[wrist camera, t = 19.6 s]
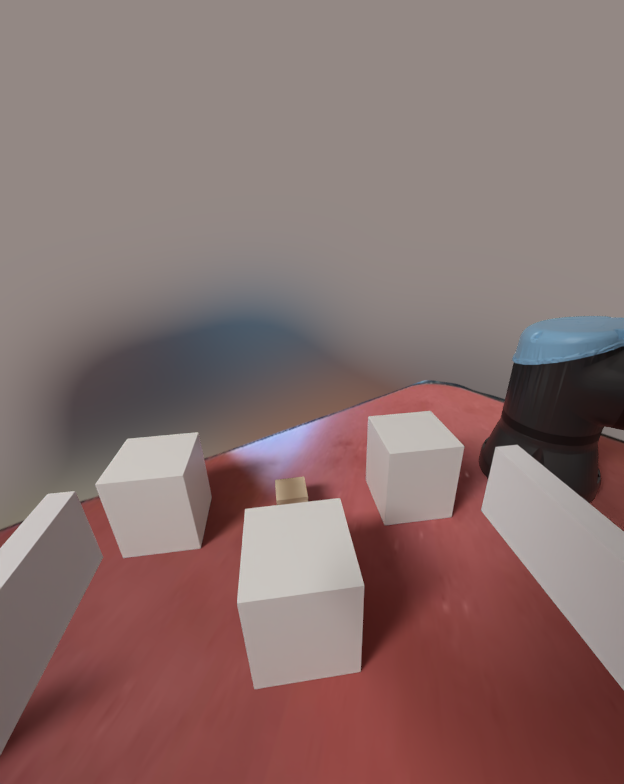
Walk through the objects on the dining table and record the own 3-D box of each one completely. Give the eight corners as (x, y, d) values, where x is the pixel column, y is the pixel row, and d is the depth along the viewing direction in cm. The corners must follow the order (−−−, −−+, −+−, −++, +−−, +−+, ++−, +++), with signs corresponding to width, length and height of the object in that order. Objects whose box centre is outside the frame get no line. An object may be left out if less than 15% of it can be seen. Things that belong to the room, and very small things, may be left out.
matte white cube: (422, 473, 52) (430, 410, 47) (451, 517, 44) (464, 446, 39) (365, 479, 51) (368, 416, 46) (384, 525, 43) (389, 454, 38)
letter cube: (305, 498, 48) (303, 476, 46) (309, 520, 44) (307, 496, 43) (277, 502, 47) (274, 479, 46) (278, 524, 44) (276, 500, 42)
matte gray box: (211, 497, 49) (198, 432, 44) (200, 548, 41) (182, 475, 36) (147, 504, 48) (127, 438, 43) (123, 558, 40) (94, 484, 35)
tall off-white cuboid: (340, 576, 37) (340, 498, 32) (360, 671, 29) (364, 585, 24) (257, 587, 36) (245, 508, 31) (254, 689, 28) (237, 603, 23)
